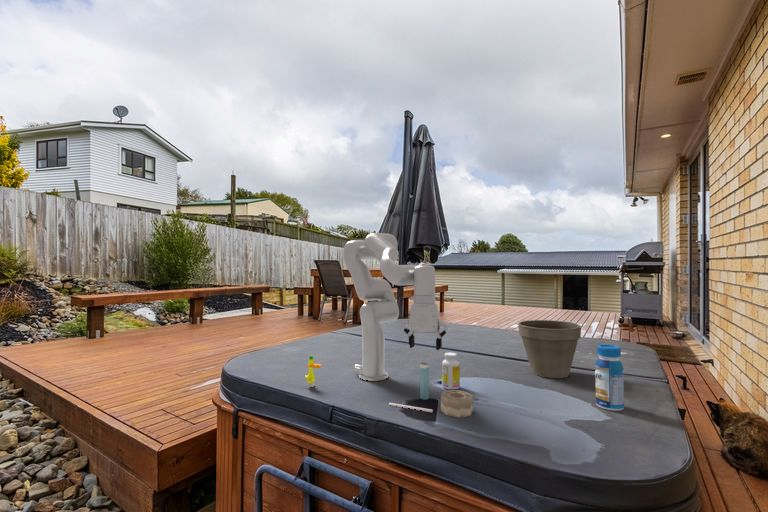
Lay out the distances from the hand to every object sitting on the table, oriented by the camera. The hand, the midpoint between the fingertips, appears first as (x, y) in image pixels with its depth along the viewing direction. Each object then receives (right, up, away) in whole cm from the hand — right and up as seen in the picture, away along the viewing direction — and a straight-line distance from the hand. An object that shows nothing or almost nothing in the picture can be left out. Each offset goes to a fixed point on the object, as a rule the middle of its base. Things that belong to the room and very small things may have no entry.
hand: (425, 348), depth 131 cm
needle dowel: (0, -18, 0) cm, 18 cm away
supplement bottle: (+11, -18, +11) cm, 24 cm away
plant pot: (+57, -19, +29) cm, 67 cm away
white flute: (-6, -17, -10) cm, 21 cm away
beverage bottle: (+61, -18, -8) cm, 64 cm away
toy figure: (-42, -18, +11) cm, 47 cm away
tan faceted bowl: (+9, -17, -12) cm, 23 cm away
